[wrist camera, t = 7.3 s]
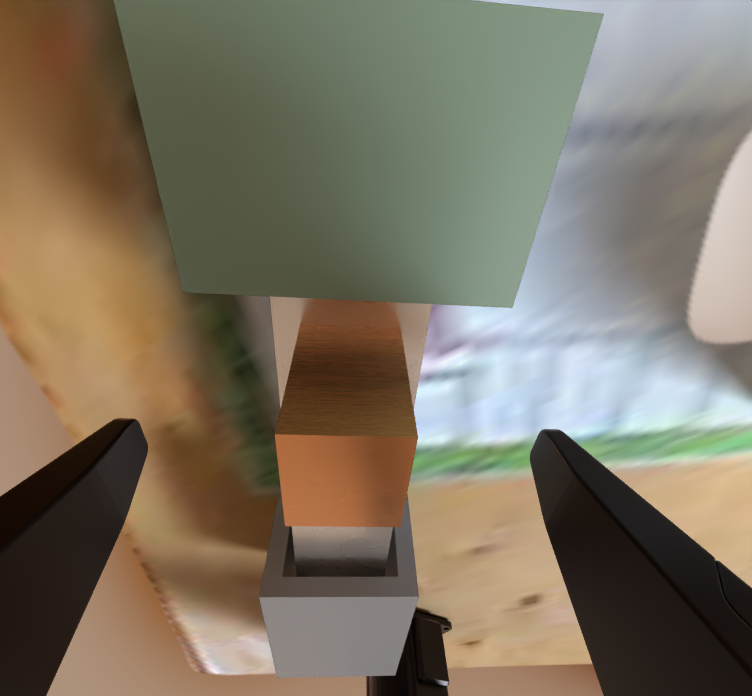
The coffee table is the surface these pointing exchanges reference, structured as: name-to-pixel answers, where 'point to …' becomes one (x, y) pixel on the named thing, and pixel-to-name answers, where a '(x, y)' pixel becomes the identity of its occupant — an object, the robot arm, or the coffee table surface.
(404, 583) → the sleeve
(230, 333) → the coffee table surface
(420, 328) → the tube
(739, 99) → the coffee table surface
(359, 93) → the socket
